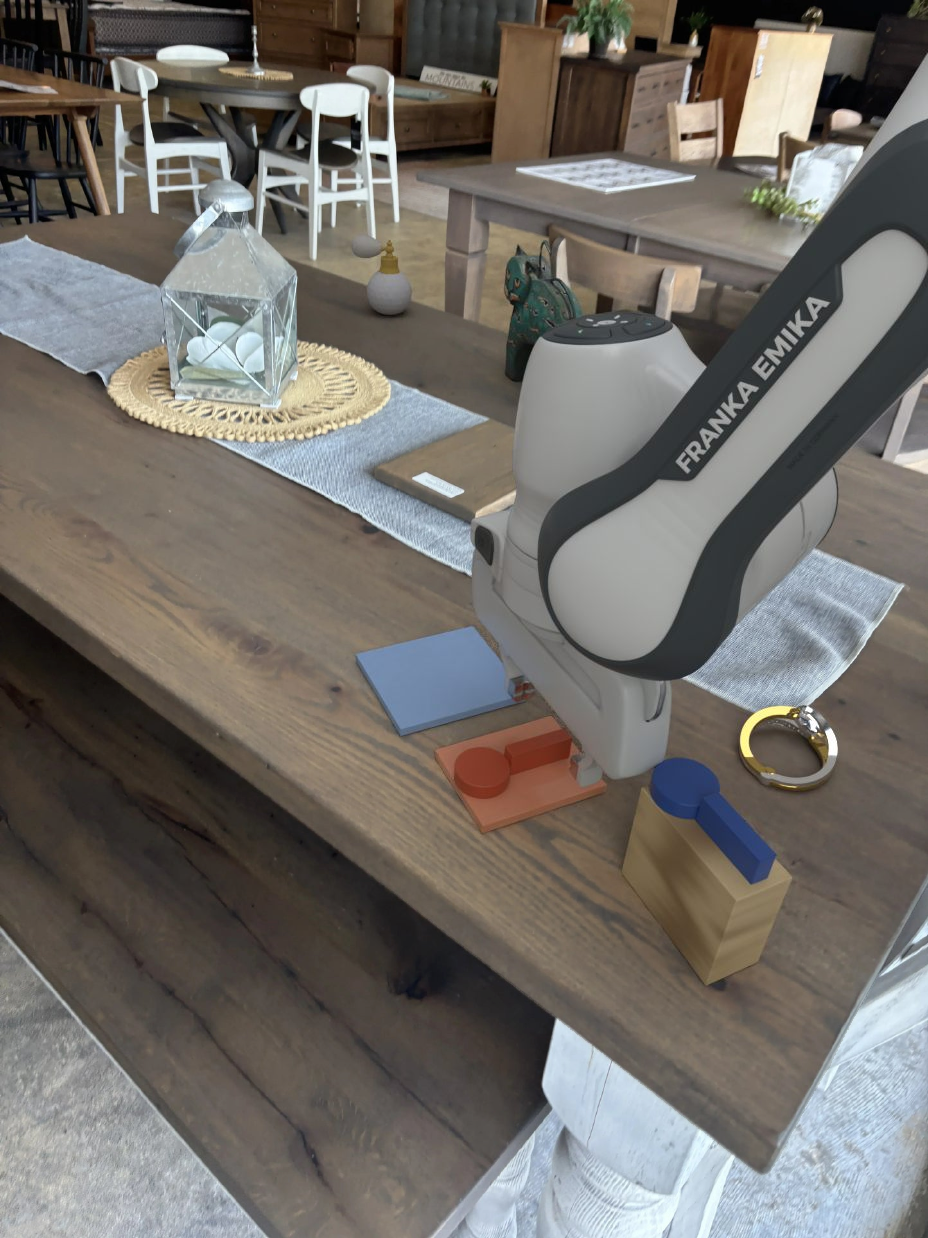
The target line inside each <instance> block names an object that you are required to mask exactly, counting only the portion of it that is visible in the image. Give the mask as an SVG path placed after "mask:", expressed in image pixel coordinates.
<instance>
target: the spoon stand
mask: <svg viewBox="0 0 928 1238" xmlns="http://www.w3.org/2000/svg"><path fill="white" fill-rule="evenodd" d="M695 820H696V819H682V818H678V817H675V816H672V815H670V814H668V813H666V812H665V811H663V810H662V809H661V808H659V807H658V806H657V805H656V803H655V802H654V801H653V799H652V797H651V794H650V784H649V785H645V786H642V787H641V788H640V793H639V797H638V801H637V805H636V808H635V812H634V818H633V820H632V821H633V822H632V826H631V831H630V835H629V837H628V838H629V839H628V843H627V847H626V851H625V856H624V860H623V865H622V868H621V874H622V875H623V876H624V879H626V881H627V882H628V884H629V885H630V886H631V888H632V889H633V891H634V892H635V893H636V894H637V895H638V897H639V899H641V901H642V903H643V904H644V906H646V908H647V910H649V912H650V913H651V915H653V917H654V919H655V920H656V921H657V923H658V924H659V925H660V927H661V928H662V929H663V930H664V932H665V933H666V934H667V936H668V937H669V938H670V940H671V941H672V943H673V944H674V945H675V947H676V948H677V949H678V951H679V952H680V953H681V955H682V956H683V958H684V959H685V960H686V961H687V962H688V964H689V966H690V967H691V969H693V970H694V972H695V973H696V975H697V976H698V978H699V979H700V980H701V981H702V983H703V984H704V985H705V986H709V985H711V984H713V983H716V982H718V981H720V980H722V979H724V978H727V977H728V976H730V975H731V976H732V975H733V974H735V973H737V972H740V971H741V970H744V969H746V968H748V967H750V966H752V965H755V964H757V963H759V961H760V959H761V956H762V955H763V951H764V949H765V946H766V944H767V941H768V940H769V936H770V934H771V931H772V929H773V926H774V924H775V922H776V919H777V917H778V915H779V912H780V910H781V907H782V905H783V902H784V901H785V898H786V895H787V893H788V890H789V887H790V885H791V882H792V880H793V875H791V874H790V872H789V871H788V870H787V869H786V868H785V867H784V866H783V865H782V863H780V862H779V860H778V859H777V858H775V860H774V863H773V865H772V868H771V871H770V873H769V876H768V878H767V879H764V880H762V881H759V882H757V883H754V884H752V885H751V884H750V883H749V882H748V881H747V880H746V878H745V877H744V876H743V875H742V874H741V873H740V872H739V870H738V869H737V868H736V867H735V866H734V865H733V864H732V862H731V861H730V860H729V859H728V858H727V857H726V856H725V854H724V853H723V852H722V851H721V850H720V849H719V848H718V846H717V845H716V844H715V843H714V842H713V841H712V839H711V838H710V837H709V836H708V835H707V834H706V833H705V831H704V830H703V829H702V828H701V827H700V826H699V825H698V823H697V822H696V821H695Z"/></svg>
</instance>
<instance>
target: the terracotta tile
mask: <svg viewBox="0 0 928 1238" xmlns="http://www.w3.org/2000/svg"><path fill="white" fill-rule="evenodd" d="M559 729H563V728H562V727H561V726H560V724H559V723H558V722H557V721H556V719H555V718H554V717H553V716H552V715H549V716H546V717H542V718H539V719H535V720H532V721H528V722H524V723H521V724H518V725H515V726H511V727H508V728H505V729H504V728H503V729H501V730H498V731H494V732H491V733H487V734H484V735H481V736H477V737H474V738H471V739H467V740H463V741H461V742H457V743H454V744H449V745H446V746H443V747H439V748H435V749H434V758H435V761H436V762H437V763H438V765H439V767H440V768H441V770H442V771H443V773H444V775H445V776H446V778H447V780H448V781H449V782H450V785H451V786H452V787H453V789H454V791H455V792H456V795H457V796H458V797H459V799H460V801H461V802H462V804H463V805H464V807H465V808H466V811H468V813H469V815H470V817H471V818H472V820H473V821H474V823H475V824H476V826H477V828H478V830H479V831H480V833H481V834H485V833H489V832H491V831H495V830H497V829H501V828H502V827H503V828H504V827H507V826H510V825H512V824H515V823H518V822H521V821H524V820H527V819H530V818H533V817H536V816H539V815H541V814H544V813H547V812H550V811H553V810H557V809H559V808H562V807H565V806H569V805H571V804H574V803H577V802H580V801H583V800H586V799H589V798H591V797H595V796H599V795H601V794H604V793H606V791H607V783H606V782H605V780H604V779H603V777H602V778H601V780H600V781H599V782H597V783H595V784H592V785H589V786H586V787H580V785H579V784H578V783H577V781H576V780H575V779H574V777H573V776H572V775H571V773H570V772H569V768H570V767H571V765H570V761H571V756H573V755H576V754H583V753H582V752H581V751H580V749H579V748H578V747H577V745H576V744H575V743H574V742H573V741H572V744H571V750H570V756H569V757H568V758H565V759H562V760H559V761H556V762H552V763H549V764H546V765H543V766H540V767H536V768H533V769H530V770H527V771H524V772H520V773H517V774H514V775H510V780H509V784H508V787H507V788H506V790H505V791H504V792H503V793H501V794H500V795H498V796H495V797H492V798H486V799H481V798H474V797H471V796H468V795H466V794H465V793H463V792H462V791H461V790H460V789H459V788H458V787H457V786H456V784H455V781H454V765H455V761H456V759H457V757H458V756H459V755H460V754H461V753H462V752H464V751H466V750H468V749H471V748H476V747H485V748H491V749H494V750H496V751H498V752H500V753H501V754H503V755H504V751H505V746H506V745H509V744H512V743H516V742H519V741H522V740H526V739H529V738H533V737H536V736H539V735H543V734H546V733H549V732H553V731H556V730H559Z"/></svg>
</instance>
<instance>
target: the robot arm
mask: <svg viewBox="0 0 928 1238" xmlns="http://www.w3.org/2000/svg"><path fill="white" fill-rule="evenodd" d="M927 376H928V52H927V53H926V55H925V56H924V58H923V59H922V61H921V63H920V65H919V66H918V68H917V69H916V71H915V73H914V75H913V76H912V77H911V79H910V80H909V82H908V83H907V86H905V89H904V90H903V92H902V94H901V95H900V97H899V99H897V102H896V103H895V104H894V106H893V108H892V109H891V111H890V113H889V114H888V116H887V117H886V118H885V120H884V122H883V123H882V125H881V126H880V128H879V129H878V130H877V132H876V134H875V135H874V136H873V138H872V139H871V141H870V143H869V144H868V146H867V147H866V148H865V150H864V152H863V153H862V155H861V156H860V158H859V159H858V161H857V162H856V164H855V166H854V167H853V169H852V170H851V172H849V174H848V176H847V177H846V179H845V181H844V182H843V184H842V186H841V187H840V189H839V190H838V192H837V194H836V195H835V197H834V198H833V200H832V201H831V203H830V205H829V206H828V207H827V209H826V211H825V212H824V213H823V215H822V217H821V218H820V219H819V221H818V223H817V224H816V226H815V227H814V228H813V230H812V231H811V232H810V234H809V235H808V236H807V238H806V239H804V242H803V243H802V244H801V246H800V247H799V248H798V249H797V250H796V252H795V253H794V254H793V256H792V257H791V259H790V260H789V261H788V263H787V264H786V265H785V266H784V268H783V269H782V270H781V271H780V273H779V274H778V275H777V277H776V278H775V279H774V280H773V282H771V284H770V285H769V287H768V288H767V289H766V290H765V291H764V293H763V294H762V296H761V297H760V298H759V299H758V301H756V303H755V305H754V306H753V307H752V308H751V310H750V311H749V312H748V313H747V315H746V316H745V317H744V318H743V320H742V321H741V322H740V323H739V324H738V326H737V327H736V329H734V331H733V332H732V334H731V335H730V336H729V337H728V338H727V340H726V341H725V343H724V344H723V345H722V347H721V348H719V351H718V352H717V353H716V354H715V356H713V358H712V360H711V361H710V362H709V363H708V364H707V366H706V364H705V363H703V362H702V361H701V360H700V359H699V358H698V356H697V355H696V354H695V353H694V352H693V350H692V349H691V347H690V346H689V345H688V342H687V341H686V339H685V338H684V335H683V334H682V332H681V330H680V329H679V328H678V327H677V326H676V324H674V323H673V322H672V321H670V320H668V319H665V318H663V317H660V316H658V315H656V314H651V313H647V312H640V311H605V312H603V313H594V314H591V313H590V314H585V315H582V316H581V317H578V318H575V319H572V320H569V321H566V322H564V323H562V324H559V325H557V326H555V327H553V328H551V329H549V330H548V331H546V332H545V334H543V335H542V336H541V337H539V339H538V340H537V342H536V343H535V345H534V347H533V349H532V352H531V354H530V357H529V360H528V363H527V366H526V370H525V374H524V378H523V381H521V382H522V384H521V388H520V393H519V399H518V404H517V410H516V411H517V412H516V417H515V427H514V434H513V435H514V437H513V445H512V446H513V447H512V457H511V458H512V461H511V467H512V473H513V477H514V481H515V497H514V501H513V504H512V506H511V508H509V509H505V510H501V511H496V512H492V513H487V514H484V515H480V516H477V517H474V518H472V520H471V522H470V530H469V531H470V533H469V535H470V542H471V544H472V546H473V547H474V549H473V552H472V559H471V600H472V605H473V609H474V611H475V615H476V618H477V619H478V620H479V621H480V623H481V624H482V625H483V626H484V628H486V630H487V631H488V632H489V633H490V635H491V636H492V637H493V638H494V640H495V641H496V642H497V643H498V644H499V645H498V649H499V653H500V657H501V662H502V663H503V666H504V670H505V673H506V681H505V690H506V691H507V693H508V694H509V695H510V696H511V697H512V699H513V700H514V701H515V702H521V701H522V700H526V701H528V700H531V699H532V698H533V697H534V695H535V690H536V691H537V692H538V693H539V694H540V696H541V697H542V698H543V699H544V700H545V701H546V703H547V704H548V705H549V707H550V708H551V709H552V710H553V711H554V712H555V714H556V715H557V716H558V717H559V719H560V720H561V721H562V722H563V724H564V725H565V726H566V727H567V728H568V730H569V731H570V732H571V733H572V735H573V736H574V737H575V738H576V740H577V741H578V742H579V743H580V745H581V751H582V752H583V753H582V754H576V755H573V756H571V761H570V765H571V767H570V768H569V772H570V773H571V775H572V776H573V777H574V779H575V780H576V781H577V783H578V784H579V785H580V787H586V786H589V785H592V784H595V783H597V782H599V781H600V780H601V778H602V779H603V775H604V774H605V775H606V776H607V777H608V778H610V779H611V780H615V781H616V780H623V779H627V778H632V777H635V776H640V775H643V774H645V773H647V772H650V771H653V770H654V769H655V767H656V766H657V765H658V764H659V763H661V762H663V761H664V760H665V758H666V753H667V747H668V741H669V735H670V725H671V715H672V699H673V698H672V685H671V684H672V683H671V681H674V680H675V681H676V680H679V679H683V678H686V677H688V676H691V675H692V674H694V673H695V672H697V671H699V670H700V669H702V667H703V666H704V665H705V664H707V662H708V661H709V660H710V659H711V657H713V656H714V655H715V653H716V652H717V650H719V648H720V647H721V646H722V645H723V644H724V642H725V641H726V640H727V639H728V637H729V636H730V635H731V634H732V632H733V631H734V629H735V628H736V627H737V626H738V625H739V624H740V623H741V622H742V621H743V620H744V619H745V618H746V617H747V616H748V615H749V614H750V613H751V612H753V610H754V609H755V608H757V606H758V605H759V604H761V602H762V601H764V600H765V598H767V597H768V595H770V594H771V593H772V592H773V591H774V590H775V589H776V588H777V587H778V586H779V585H780V584H781V583H782V582H783V581H784V580H785V579H786V578H787V577H788V576H789V575H790V574H791V573H792V572H793V571H794V570H795V569H796V568H797V567H799V566H800V564H801V563H802V562H804V560H805V559H806V558H807V557H808V556H809V555H810V554H811V553H812V552H813V551H814V550H815V549H816V548H817V547H818V546H819V545H820V544H821V543H822V542H823V541H824V539H825V538H826V537H827V535H828V533H829V532H830V531H831V529H832V526H833V524H834V522H835V519H836V517H837V511H838V507H839V495H840V494H839V481H838V477H837V473H836V469H835V466H837V464H838V463H840V461H841V460H842V459H843V458H844V457H846V455H847V454H848V453H849V452H850V451H851V450H852V449H853V448H854V447H855V446H856V445H857V444H858V442H859V441H861V439H863V437H864V436H865V435H867V433H868V432H869V431H870V430H871V429H872V428H873V427H874V426H875V425H876V424H877V423H878V421H880V420H881V419H882V417H883V416H884V415H885V414H886V413H888V411H889V410H891V408H892V407H893V406H894V405H895V404H896V403H898V402H899V401H900V399H901V398H903V397H904V396H906V395H907V393H908V392H909V391H910V390H911V389H913V388H914V387H915V386H916V385H917V384H918V383H920V382H921V381H922V380H923V379H924V378H925V377H927ZM521 703H522V702H521Z"/></svg>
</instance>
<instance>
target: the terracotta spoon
mask: <svg viewBox="0 0 928 1238" xmlns="http://www.w3.org/2000/svg"><path fill="white" fill-rule="evenodd" d="M572 742H573V736H572V735H571V734H570V733H569V732H568V731H567V729H566V728H565V727H563V728H562V729H559V730H556V731H553V732H549V733H546V734H543V735H539V736H536V737H533V738H529V739H526V740H522V741H519V742H516V743H512V744H509V745H506V746H505V751H504V755H503V754H501V753H500V752H498V751H496V750H494V749H491V748H485V747H476V748H471V749H468V750H466V751H464V752H462V753H461V754H460V755H459V756H458V757H457V759H456V761H455V765H454V781H455V784H456V786H457V787H458V788H459V789H460V790H461V791H462V792H463V793H465V794H466V795H468V796H471V797H474V798H481V799H486V798H492V797H495V796H498V795H500V794H501V793H503V792H504V791H505V790H506V788H507V787H508V784H509V780H510V775H514V774H517V773H520V772H524V771H527V770H530V769H533V768H536V767H540V766H543V765H546V764H549V763H552V762H556V761H559V760H562V759H565V758H568V757H569V756H570V750H571V744H572Z"/></svg>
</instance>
